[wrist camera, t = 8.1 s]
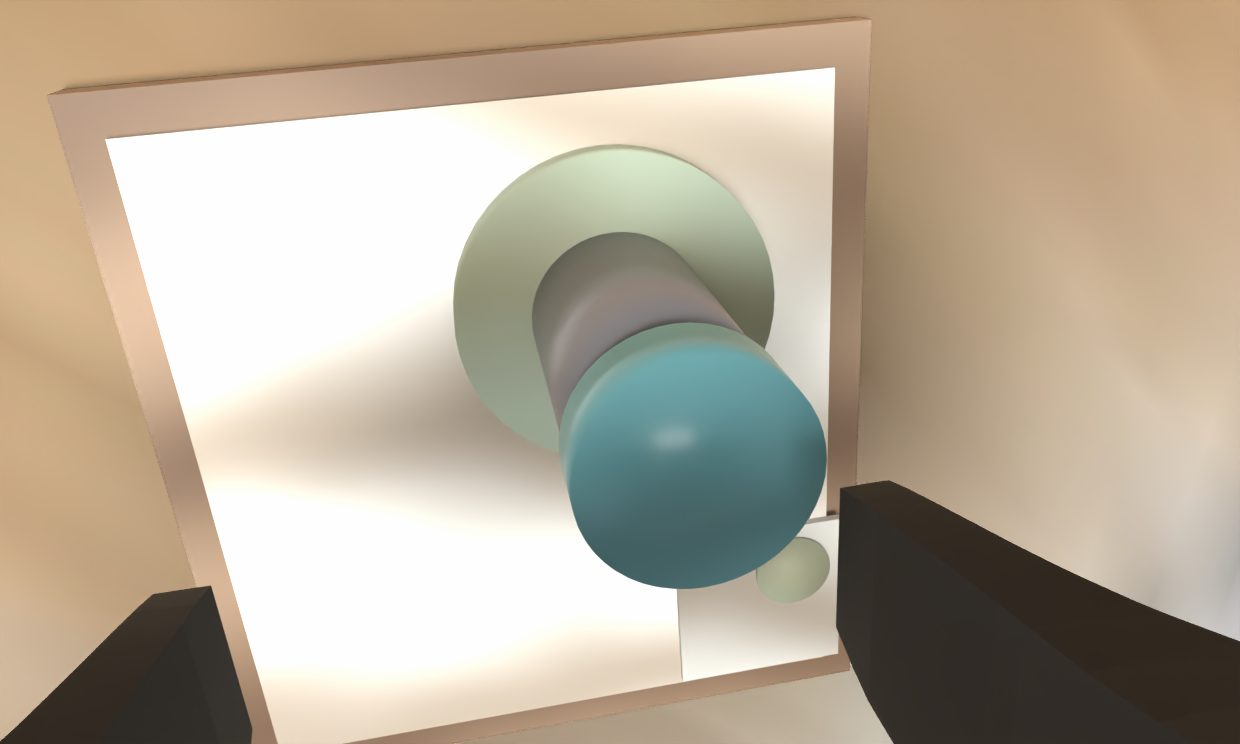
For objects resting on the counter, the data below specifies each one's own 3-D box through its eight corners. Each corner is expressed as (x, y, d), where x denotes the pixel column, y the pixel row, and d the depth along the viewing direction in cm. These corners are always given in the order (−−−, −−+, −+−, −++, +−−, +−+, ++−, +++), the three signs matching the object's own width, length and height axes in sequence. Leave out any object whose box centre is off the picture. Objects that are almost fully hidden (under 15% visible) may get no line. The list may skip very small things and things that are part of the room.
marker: (709, 386, 20) (823, 567, 14) (536, 410, 20) (581, 608, 14) (703, 217, 19) (830, 340, 13) (517, 238, 18) (558, 376, 12)
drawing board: (837, 650, 26) (865, 697, 24) (260, 754, 24) (247, 813, 22) (855, 17, 19) (893, 22, 18) (62, 89, 17) (24, 103, 16)
